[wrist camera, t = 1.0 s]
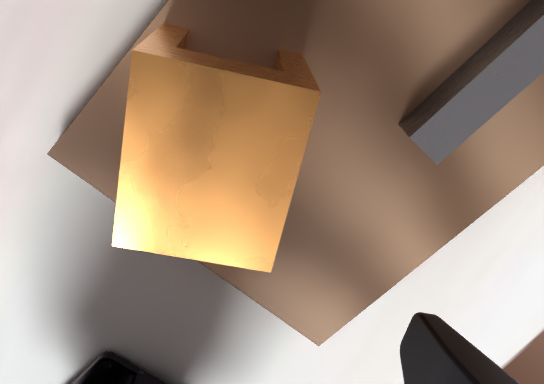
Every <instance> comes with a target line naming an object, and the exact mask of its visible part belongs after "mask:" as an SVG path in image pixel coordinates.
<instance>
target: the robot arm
mask: <svg viewBox="0 0 544 384" xmlns="http://www.w3.org/2000/svg"><path fill="white" fill-rule="evenodd" d="M400 358H401V364H402V371H403V377H404V384H519V383H518V382H517V381H516V380H515V379H513V378H512V377H511V376H510V375H508V374H507V373H506V372H505V371H504V370H503V369H501V368H500V367H499V366H498V365H497V364H495V363H494V362H493V361H492V360H490V359H489V358H488V357H487V356H486V355H484V354H483V353H482V352H481V351H480V350H478V349H477V348H476V347H475V346H473V345H472V344H471V343H470V342H469V341H467V340H466V339H465V338H464V337H463V336H461V335H460V334H459V333H458V332H456V331H455V330H454V329H453V328H452V327H450V326H449V325H448V324H447V323H446V322H444V321H443V320H442V319H441V318H440V317H438V316H436V315H433V314H427V313H421V312H418V313H416V314H415V315H414V316H413V317H412V319H411V322H410V324H409V326H408V328H407V330H406V333H405V335H404V337H403V339H402V342H401V345H400ZM106 361H108V362H111V363H108V362H106ZM71 384H166V383H165V382H163V381H161V380H159V379H158V378H156V377H154V376H153V375H151V374H149V373H147V372H146V371H144V370H142V369H141V368H139V367H137V366H135V365H134V364H132V363H130V362H129V361H127V360H125V359H124V358H122V357H120V356H118V355H117V354H115V353H112V352H104V353H102V354H101V355H100V356H99V357H97V358H96V359H95V360H94V361H93V362H92V363H91V364H90V365H89V366H88V367H87V368H86V369H85V370H84V371H83V372H82V373H81V374H80V375H79V376H78V377H77V378H76V379H75V380H74V381H73V382H72V383H71Z"/></svg>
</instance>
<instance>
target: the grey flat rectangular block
mask: <svg viewBox="0 0 544 384" xmlns="http://www.w3.org/2000/svg"><path fill="white" fill-rule="evenodd" d="M543 72H544V0H531V1H530V2H529V3H528V4H526V5H525V6H524V7H523V8H522V9H521V10H520V11H519V12H518V13H517V14H516V15H515V16H514V17H513V18H511V19H510V20H509V21H508V22H507V23H506V24H505V25H504V26H503V27H502V28H501V29H500V30H499V31H497V32H496V33H495V34H494V35H493V36H492V37H491V38H490V39H489V40H488V41H487V42H486V43H485V44H484V45H482V46H481V47H480V48H479V49H478V50H477V51H476V52H475V53H474V54H473V55H472V56H471V57H470V58H469V59H467V60H466V61H465V62H464V63H463V64H462V65H461V66H460V67H459V68H458V69H457V70H456V71H455V72H453V73H452V74H451V75H450V76H449V77H448V78H447V79H446V80H445V81H444V82H443V83H442V84H441V85H440V86H438V87H437V88H436V89H435V90H434V91H433V92H432V93H431V94H430V95H429V96H428V97H427V98H426V99H425V100H423V101H422V102H421V103H420V104H419V105H418V106H417V107H416V108H415V109H414V110H413V111H412V112H411V113H409V114H408V115H407V116H406V117H405V118H404V119H403V120H402V121H401V122H400V123H399V124H398V125H399V126H400V127H401V128H402V129H403V130H404V132H405V133H406V134H407V135H408V136H409V137H410V138H411V139H412V140H413V141H414V142H415V143H416V144H417V145H418V146H419V147H420V148H421V149H422V150H423V151H424V152H425V153H426V154H427V155H428V156H429V157H430V158H431V159H432V160H433V161H434V162H435V163H436V164H437V165H438V164H439V163H440V162H441V161H442V160H443V159H444V158H446V157H447V156H448V155H449V154H450V153H451V152H453V151H454V150H455V149H456V148H457V147H458V146H459V145H461V144H462V143H463V142H464V141H465V140H466V139H467V138H469V137H470V136H471V135H472V134H473V133H474V132H475V131H477V130H478V129H479V128H480V127H481V126H482V125H484V124H485V123H486V122H487V121H488V120H489V119H490V118H492V117H493V116H494V115H495V114H496V113H497V112H498V111H500V110H501V109H502V108H503V107H504V106H505V105H506V104H508V103H509V102H510V101H511V100H512V99H513V98H515V97H516V96H517V95H518V94H519V93H520V92H521V91H523V90H524V89H525V88H526V87H527V86H528V85H529V84H531V83H532V82H533V81H534V80H535V79H536V78H537V77H539V76H540V75H541V74H542V73H543Z"/></svg>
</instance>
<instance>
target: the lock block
mask: <svg viewBox="0 0 544 384" xmlns="http://www.w3.org/2000/svg"><path fill="white" fill-rule="evenodd" d="M188 36H189V29H186V28H181V27H177V26H173V25H169V24H164V23H163V24H162V25H161V26H160V27H159V28H157V29H156V30H155V31H154V32H153V33H151V34H150V35H149V36H148V37H147V38H146V39H144V40H143V41H142V42H141V43H140V44H138V45H137V46H136V47H135V48H134V49H132V56H131V66H130V75H129V85H128V94H127V104H126V114H125V123H124V133H123V143H122V152H121V162H120V171H119V181H118V191H117V200H116V210H115V219H114V229H113V239H112V246H115V247H121V248H127V249H133V250H139V251H145V252H151V253H157V254H163V255H169V256H174V257H180V258H186V259H192V260H198V261H204V262H210V263H216V264H222V265H228V266H234V267H240V268H246V269H252V270H258V271H264V272H270V273H271V270H272V267H273V263H274V260H275V256H276V252H277V249H278V245H279V242H280V238H281V234H282V231H283V227H284V224H285V220H286V217H287V213H288V209H289V206H290V202H291V199H292V195H293V192H294V188H295V184H296V181H297V177H298V174H299V170H300V166H301V163H302V159H303V156H304V152H305V149H306V145H307V141H308V138H309V134H310V131H311V127H312V124H313V120H314V116H315V113H316V109H317V106H318V102H319V98H320V95H321V90H320V88H319V86H318V84H317V82H316V80H315V78H314V76H313V74H312V72H311V70H310V68H309V66H308V64H307V62H306V60H305V58H304V57H303V56H302V55H298V54H294V53H289V52H285V51H281V50H279V51H278V55H277V60H276V64H275V68H274V69H270V68H266V67H261V66H257V65H252V64H248V63H243V62H239V61H235V60H230V59H226V58H221V57H217V56H212V55H208V54H203V53H199V52H195V51H190V50H186V49H187V42H188Z"/></svg>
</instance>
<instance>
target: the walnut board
mask: <svg viewBox="0 0 544 384" xmlns="http://www.w3.org/2000/svg"><path fill="white" fill-rule="evenodd" d="M530 1H531V0H168V1H167V3H166V4H165V5H164V6H163V8H162V9H161V10H160V11H159V13H158V14H157V15H156V17H155V18H154V19H153V20H152V22H151V23H150V24H149V25H148V27H147V28H146V29H145V31H144V32H143V33H142V34H141V36H140V37H139V38H138V39H137V41H136V42H135V43H134V44H133V46H132V47H131V48H130V50H129V51H128V52H127V53H126V55H125V56H124V57H123V58H122V60H121V61H120V62H119V63H118V65H117V66H116V67H115V69H114V70H113V71H112V72H111V74H110V75H109V76H108V77H107V79H106V80H105V81H104V83H103V84H102V85H101V86H100V88H99V89H98V90H97V91H96V93H95V94H94V95H93V96H92V98H91V99H90V100H89V102H88V103H87V104H86V105H85V107H84V108H83V109H82V110H81V112H80V113H79V114H78V116H77V117H76V118H75V119H74V121H73V122H72V123H71V124H70V126H69V127H68V128H67V129H66V131H65V132H64V133H63V135H62V136H61V137H60V138H59V140H58V141H57V142H56V143H55V145H54V146H53V147H52V148H51V150H50V151H49V152H48V155H49V156H51V157H52V158H53V159H55V160H56V161H58V162H59V163H61V164H62V165H63V166H65V167H66V168H68V169H69V170H70V171H72V172H73V173H75V174H76V175H77V176H79V177H80V178H82V179H83V180H85V181H86V182H87V183H89V184H90V185H92V186H93V187H94V188H96V189H97V190H99V191H100V192H102V193H103V194H104V195H106V196H107V197H109V198H110V199H111V200H113V201H114V202H116V200H117V191H118V181H119V171H120V162H121V152H122V143H123V133H124V123H125V114H126V104H127V94H128V85H129V75H130V66H131V56H132V49H134V48H135V47H136V46H137V45H138V44H140V43H141V42H142V41H143V40H144V39H146V38H147V37H148V36H149V35H150V34H151V33H153V32H154V31H155V30H156V29H157V28H159V27H160V26H161V25H162V24H163V23H164V24H169V25H173V26H177V27H181V28H186V29H189V36H188V42H187V49H186V50H190V51H195V52H199V53H203V54H208V55H212V56H217V57H221V58H226V59H230V60H235V61H239V62H243V63H248V64H252V65H257V66H261V67H266V68H270V69H274V68H275V64H276V60H277V55H278V51H279V50H281V51H285V52H289V53H294V54H298V55H302V56H303V57H304V58H305V60H306V62H307V64H308V66H309V68H310V70H311V72H312V74H313V76H314V78H315V80H316V82H317V84H318V86H319V88H320V90H321V95H320V98H319V102H318V106H317V109H316V113H315V116H314V120H313V124H312V127H311V131H310V134H309V138H308V141H307V145H306V149H305V152H304V156H303V159H302V163H301V166H300V170H299V174H298V177H297V181H296V184H295V188H294V192H293V195H292V199H291V202H290V206H289V209H288V213H287V217H286V220H285V224H284V227H283V231H282V234H281V238H280V242H279V245H278V249H277V252H276V256H275V260H274V263H273V267H272V270H271V273H270V272H264V271H258V270H252V269H246V268H240V267H234V266H228V265H222V264H216V263H210V262H204V261H199V262H200V263H202V264H203V265H205V266H206V267H208V268H209V269H210V270H212V271H213V272H215V273H216V274H217V275H219V276H220V277H222V278H223V279H224V280H226V281H227V282H229V283H230V284H232V285H233V286H234V287H236V288H237V289H239V290H240V291H241V292H243V293H244V294H246V295H247V296H249V297H250V298H251V299H253V300H254V301H256V302H257V303H258V304H260V305H261V306H263V307H264V308H265V309H267V310H268V311H270V312H271V313H273V314H274V315H275V316H277V317H278V318H280V319H281V320H282V321H284V322H285V323H287V324H288V325H289V326H291V327H292V328H294V329H295V330H297V331H298V332H299V333H301V334H302V335H304V336H305V337H306V338H308V339H309V340H311V341H312V342H314V343H315V344H316V345H318V346H320V345H321V344H322V343H323V342H325V341H326V340H327V339H328V338H330V337H331V336H332V335H333V334H335V333H336V332H337V331H338V330H340V329H341V328H342V327H343V326H345V325H346V324H347V323H348V322H349V321H351V320H352V319H353V318H354V317H356V316H357V315H358V314H359V313H361V312H362V311H363V310H364V309H366V308H367V307H368V306H369V305H371V304H372V303H373V302H374V301H376V300H377V299H378V298H379V297H381V296H382V295H383V294H384V293H386V292H387V291H388V290H389V289H391V288H392V287H393V286H394V285H396V284H397V283H398V282H399V281H401V280H402V279H403V278H404V277H405V276H407V275H408V274H409V273H410V272H412V271H413V270H414V269H415V268H417V267H418V266H419V265H420V264H422V263H423V262H424V261H425V260H427V259H428V258H429V257H430V256H432V255H433V254H434V253H435V252H437V251H438V250H439V249H440V248H442V247H443V246H444V245H445V244H447V243H448V242H449V241H450V240H452V239H453V238H454V237H455V236H457V235H458V234H459V233H460V232H462V231H463V230H464V229H465V228H466V227H468V226H469V225H470V224H471V223H473V222H474V221H475V220H476V219H478V218H479V217H480V216H481V215H483V214H484V213H485V212H486V211H488V210H489V209H490V208H491V207H493V206H494V205H495V204H496V203H498V202H499V201H500V200H501V199H503V198H504V197H505V196H506V195H508V194H509V193H510V192H511V191H513V190H514V189H515V188H516V187H518V186H519V185H520V184H521V183H523V182H524V181H525V180H526V179H527V178H529V177H530V176H531V175H532V174H534V173H535V172H536V171H537V170H539V169H540V168H541V167H542V166H544V72H543V73H542V74H541V75H540V76H539V77H537V78H536V79H535V80H534V81H533V82H532V83H531V84H529V85H528V86H527V87H526V88H525V89H524V90H523V91H521V92H520V93H519V94H518V95H517V96H516V97H515V98H513V99H512V100H511V101H510V102H509V103H508V104H506V105H505V106H504V107H503V108H502V109H501V110H500V111H498V112H497V113H496V114H495V115H494V116H493V117H492V118H490V119H489V120H488V121H487V122H486V123H485V124H484V125H482V126H481V127H480V128H479V129H478V130H477V131H475V132H474V133H473V134H472V135H471V136H470V137H469V138H467V139H466V140H465V141H464V142H463V143H462V144H461V145H459V146H458V147H457V148H456V149H455V150H454V151H453V152H451V153H450V154H449V155H448V156H447V157H446V158H444V159H443V160H442V161H441V162H440V163H439V164H438V165H437V164H436V163H435V162H434V161H433V160H432V159H431V158H430V157H429V156H428V155H427V154H426V153H425V152H424V151H423V150H422V149H421V148H420V147H419V146H418V145H417V144H416V143H415V142H414V141H413V140H412V139H411V138H410V137H409V136H408V135H407V134H406V133H405V132H404V130H403V129H402V128H401V127H400V126H399V125H398V124H399V123H400V122H401V121H402V120H403V119H404V118H405V117H406V116H407V115H408V114H409V113H411V112H412V111H413V110H414V109H415V108H416V107H417V106H418V105H419V104H420V103H421V102H422V101H423V100H425V99H426V98H427V97H428V96H429V95H430V94H431V93H432V92H433V91H434V90H435V89H436V88H437V87H438V86H440V85H441V84H442V83H443V82H444V81H445V80H446V79H447V78H448V77H449V76H450V75H451V74H452V73H453V72H455V71H456V70H457V69H458V68H459V67H460V66H461V65H462V64H463V63H464V62H465V61H466V60H467V59H469V58H470V57H471V56H472V55H473V54H474V53H475V52H476V51H477V50H478V49H479V48H480V47H481V46H482V45H484V44H485V43H486V42H487V41H488V40H489V39H490V38H491V37H492V36H493V35H494V34H495V33H496V32H497V31H499V30H500V29H501V28H502V27H503V26H504V25H505V24H506V23H507V22H508V21H509V20H510V19H511V18H513V17H514V16H515V15H516V14H517V13H518V12H519V11H520V10H521V9H522V8H523V7H524V6H525V5H526V4H528V3H529V2H530Z"/></svg>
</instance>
